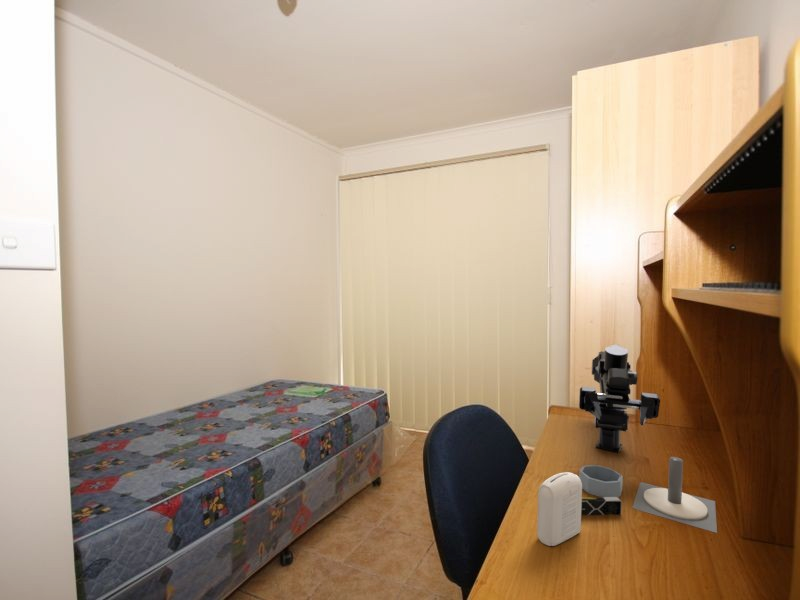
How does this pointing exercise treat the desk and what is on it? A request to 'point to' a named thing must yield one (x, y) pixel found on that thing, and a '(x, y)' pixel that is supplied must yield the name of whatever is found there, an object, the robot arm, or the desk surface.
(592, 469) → the bowl
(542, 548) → the desk surface
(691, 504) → the lid
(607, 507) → the graphics card
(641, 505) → the mat
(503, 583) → the desk surface
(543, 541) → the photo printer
